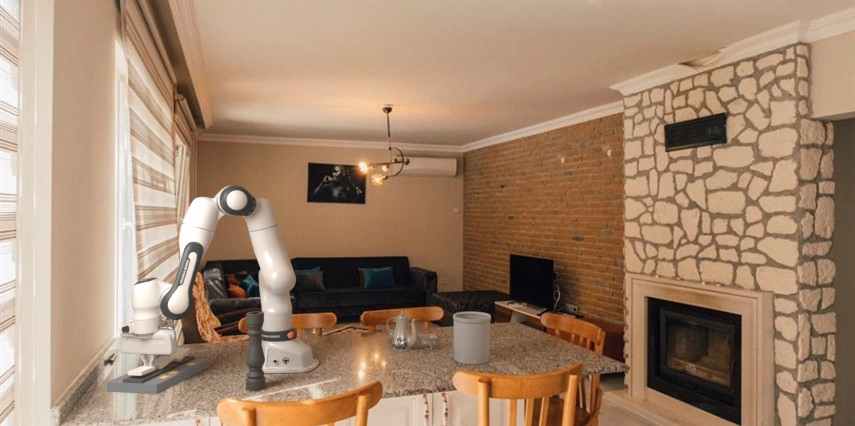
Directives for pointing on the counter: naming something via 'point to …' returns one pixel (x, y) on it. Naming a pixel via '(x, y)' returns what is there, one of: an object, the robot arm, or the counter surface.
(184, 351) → the switch
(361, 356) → the counter surface
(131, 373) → the switch
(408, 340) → the chinaware
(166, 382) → the switch board
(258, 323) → the candle holder
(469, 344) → the utensil holder
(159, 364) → the switch
